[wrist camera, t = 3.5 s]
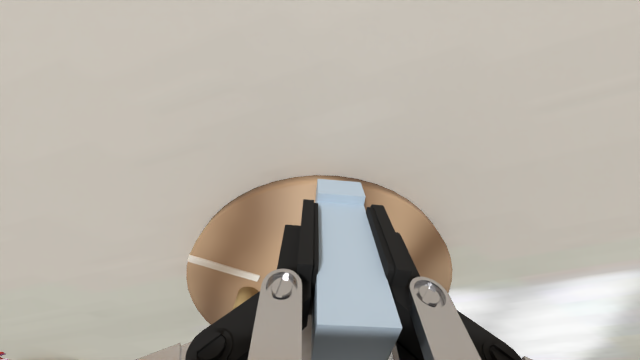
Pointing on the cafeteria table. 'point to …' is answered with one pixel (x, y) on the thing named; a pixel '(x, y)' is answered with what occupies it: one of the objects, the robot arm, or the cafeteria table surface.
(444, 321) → the robot arm
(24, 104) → the cafeteria table surface
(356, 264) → the blue square ring handle
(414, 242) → the post base
